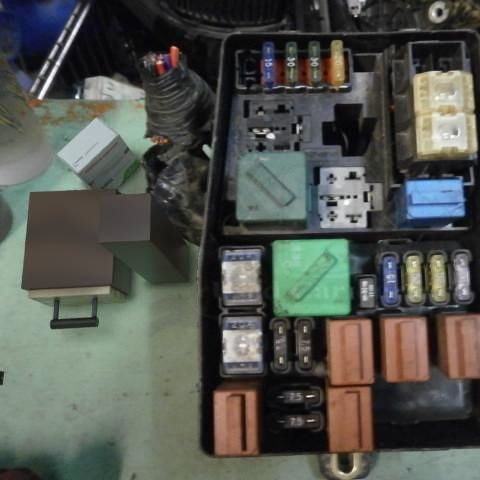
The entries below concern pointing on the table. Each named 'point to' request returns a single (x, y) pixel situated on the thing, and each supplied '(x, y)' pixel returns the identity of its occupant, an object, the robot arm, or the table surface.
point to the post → (143, 238)
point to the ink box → (99, 156)
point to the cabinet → (69, 243)
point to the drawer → (76, 303)
